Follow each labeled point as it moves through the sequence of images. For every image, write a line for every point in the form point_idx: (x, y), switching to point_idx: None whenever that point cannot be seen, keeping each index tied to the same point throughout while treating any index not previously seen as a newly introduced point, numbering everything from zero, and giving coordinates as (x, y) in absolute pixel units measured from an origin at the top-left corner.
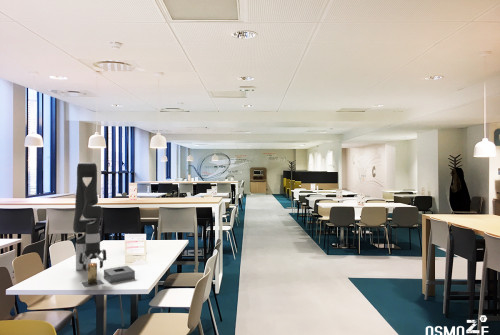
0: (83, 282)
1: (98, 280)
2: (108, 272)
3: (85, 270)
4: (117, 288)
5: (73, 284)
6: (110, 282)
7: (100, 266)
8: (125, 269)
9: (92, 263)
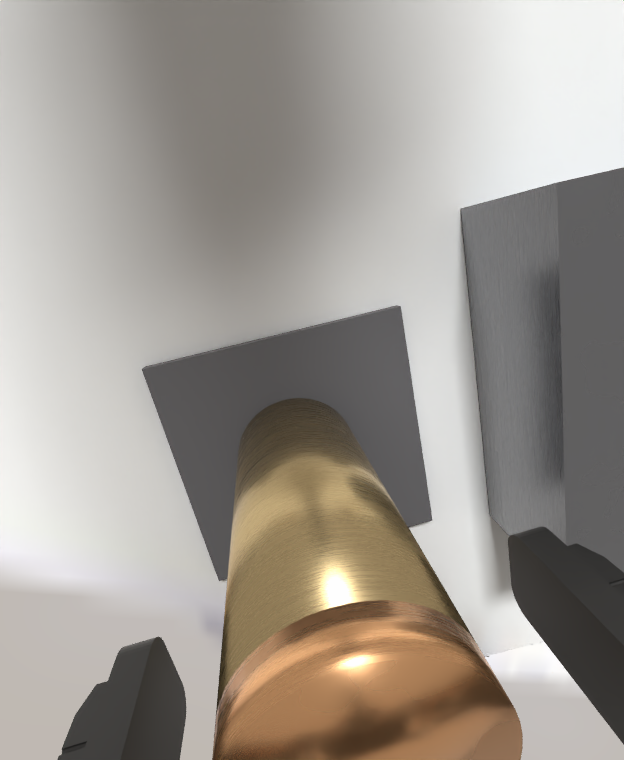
0: (171, 379)
1: (377, 361)
2: (579, 450)
3: (174, 717)
4: (521, 657)
5: (27, 380)
6: (501, 525)
7: (544, 629)
8: None
9: (380, 730)
